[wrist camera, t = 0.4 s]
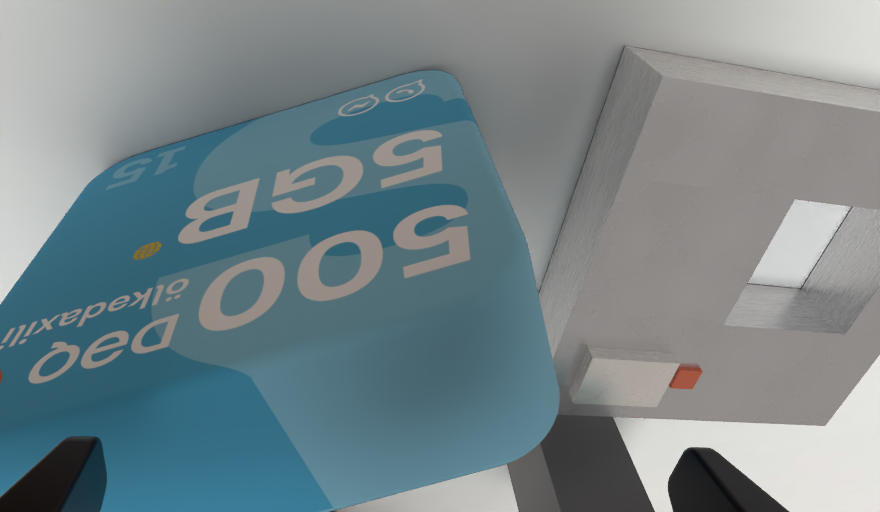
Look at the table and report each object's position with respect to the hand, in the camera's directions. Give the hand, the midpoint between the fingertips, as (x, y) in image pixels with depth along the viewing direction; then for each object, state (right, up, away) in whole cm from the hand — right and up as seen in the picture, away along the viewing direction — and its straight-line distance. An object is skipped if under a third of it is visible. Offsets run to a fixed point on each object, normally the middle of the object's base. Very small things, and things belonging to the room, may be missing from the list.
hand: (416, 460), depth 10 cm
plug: (+6, -5, +21) cm, 23 cm away
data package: (-5, +6, +12) cm, 14 cm away
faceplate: (+12, +4, +16) cm, 20 cm away
